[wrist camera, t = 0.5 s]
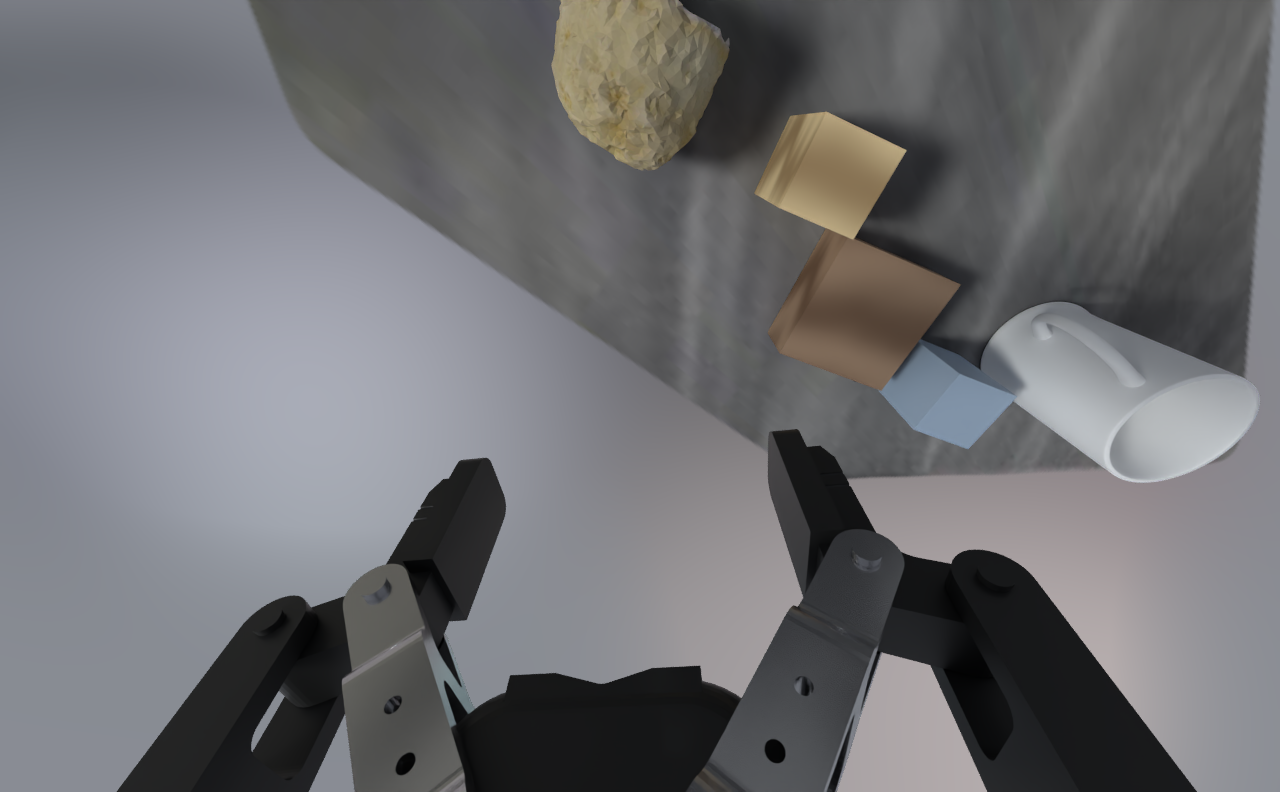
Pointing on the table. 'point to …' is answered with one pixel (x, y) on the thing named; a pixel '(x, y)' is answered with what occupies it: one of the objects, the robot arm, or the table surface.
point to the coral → (636, 74)
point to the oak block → (828, 171)
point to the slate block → (945, 395)
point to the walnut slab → (858, 310)
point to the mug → (1119, 392)
